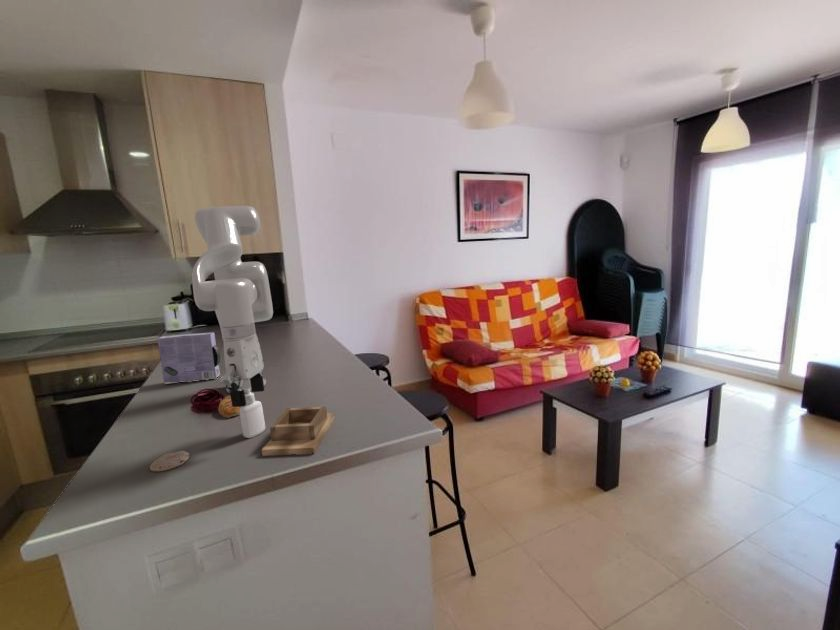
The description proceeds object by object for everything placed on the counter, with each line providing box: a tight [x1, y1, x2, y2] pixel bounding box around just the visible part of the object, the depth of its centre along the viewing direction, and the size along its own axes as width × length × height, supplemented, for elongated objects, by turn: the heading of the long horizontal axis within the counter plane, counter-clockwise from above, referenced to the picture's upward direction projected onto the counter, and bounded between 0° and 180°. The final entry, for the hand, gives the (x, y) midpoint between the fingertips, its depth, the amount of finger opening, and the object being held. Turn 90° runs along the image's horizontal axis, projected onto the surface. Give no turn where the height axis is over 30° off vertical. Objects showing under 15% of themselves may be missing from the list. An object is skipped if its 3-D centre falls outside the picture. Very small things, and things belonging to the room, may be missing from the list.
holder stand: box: [261, 406, 336, 457], centre depth 95 cm, size 12×18×5 cm, turn 178°
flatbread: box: [149, 450, 190, 472], centre depth 88 cm, size 8×8×1 cm
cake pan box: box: [157, 331, 221, 384], centre depth 142 cm, size 19×5×18 cm, turn 100°
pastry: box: [217, 395, 241, 419], centre depth 112 cm, size 9×7×4 cm
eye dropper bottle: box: [239, 389, 266, 439], centre depth 97 cm, size 4×6×12 cm
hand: (249, 398), depth 96 cm, fingers open, 9 cm apart
